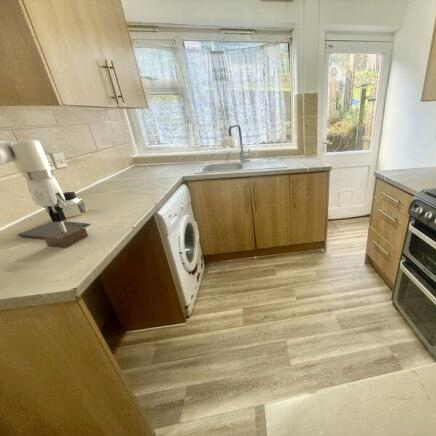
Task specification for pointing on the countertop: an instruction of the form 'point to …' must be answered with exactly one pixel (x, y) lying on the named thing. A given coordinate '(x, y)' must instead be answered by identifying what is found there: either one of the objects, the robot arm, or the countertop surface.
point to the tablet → (49, 229)
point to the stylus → (62, 226)
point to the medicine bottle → (73, 205)
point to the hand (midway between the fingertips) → (59, 220)
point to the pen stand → (65, 237)
